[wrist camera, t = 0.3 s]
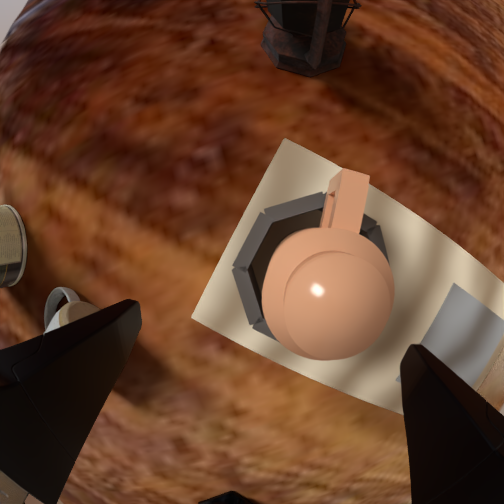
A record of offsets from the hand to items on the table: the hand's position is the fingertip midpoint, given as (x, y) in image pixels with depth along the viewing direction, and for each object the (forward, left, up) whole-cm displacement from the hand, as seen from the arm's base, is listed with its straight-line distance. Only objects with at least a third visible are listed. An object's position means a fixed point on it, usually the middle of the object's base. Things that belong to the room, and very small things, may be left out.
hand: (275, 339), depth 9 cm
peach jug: (+3, -1, -14) cm, 14 cm away
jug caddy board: (+5, -10, -15) cm, 19 cm away
